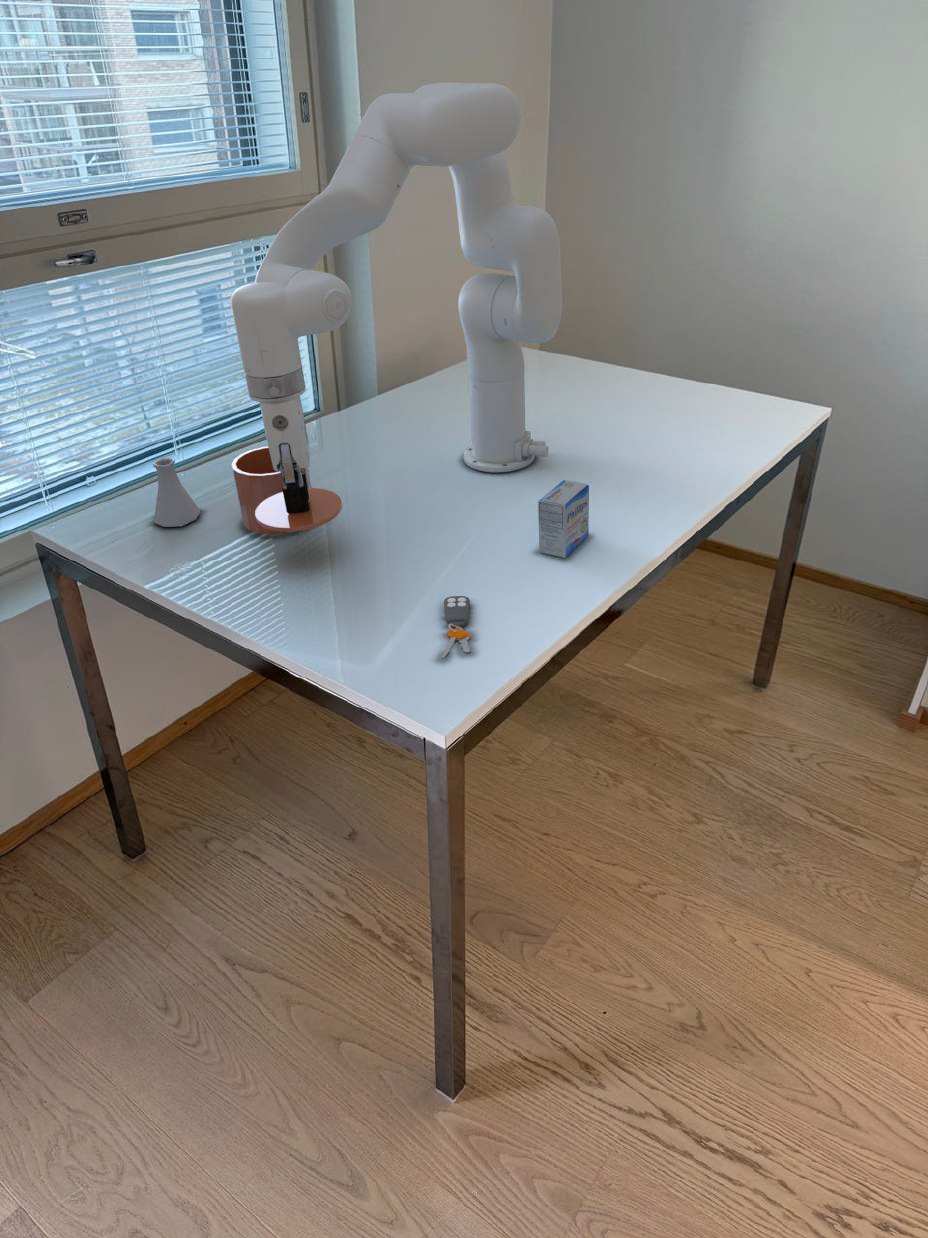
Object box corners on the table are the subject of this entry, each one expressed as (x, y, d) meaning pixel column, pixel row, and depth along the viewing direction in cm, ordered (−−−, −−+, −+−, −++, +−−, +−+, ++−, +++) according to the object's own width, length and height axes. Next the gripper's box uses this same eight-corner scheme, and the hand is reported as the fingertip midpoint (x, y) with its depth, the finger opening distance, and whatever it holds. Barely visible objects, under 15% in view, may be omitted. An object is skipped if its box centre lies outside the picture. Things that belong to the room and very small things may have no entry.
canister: (328, 509, 155) (319, 449, 149) (292, 541, 146) (281, 479, 140) (268, 500, 159) (257, 442, 153) (229, 532, 150) (216, 471, 144)
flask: (208, 510, 157) (195, 454, 151) (184, 530, 151) (170, 473, 146) (171, 506, 159) (157, 450, 153) (145, 526, 153) (130, 469, 148)
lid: (357, 500, 139) (352, 463, 135) (316, 540, 129) (309, 502, 126) (284, 490, 143) (277, 455, 140) (239, 529, 134) (231, 492, 130)
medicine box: (565, 559, 137) (565, 505, 132) (538, 552, 139) (537, 499, 134) (589, 536, 142) (590, 483, 138) (562, 530, 144) (562, 478, 140)
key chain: (442, 604, 129) (441, 594, 128) (469, 602, 128) (469, 593, 128) (441, 659, 118) (441, 650, 117) (471, 658, 118) (471, 648, 117)
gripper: (304, 400, 119) (325, 529, 129) (303, 359, 132) (323, 479, 142) (244, 407, 118) (270, 536, 128) (249, 365, 132) (273, 485, 142)
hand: (298, 505), depth 135 cm, fingers closed on lid, 2 cm apart
